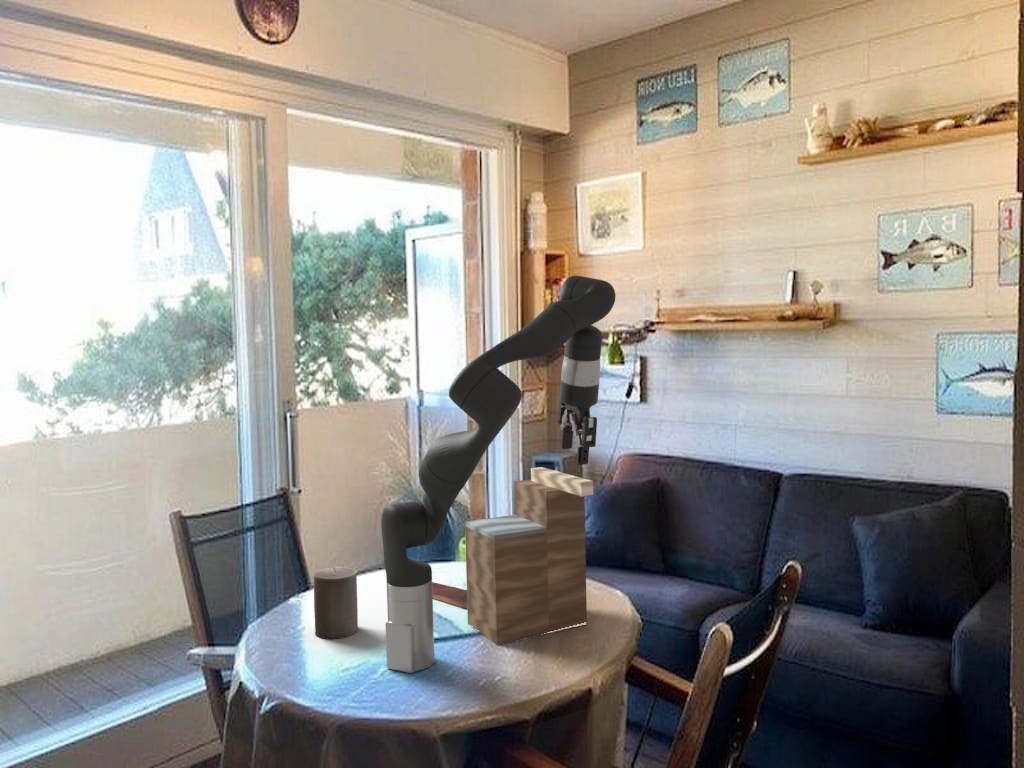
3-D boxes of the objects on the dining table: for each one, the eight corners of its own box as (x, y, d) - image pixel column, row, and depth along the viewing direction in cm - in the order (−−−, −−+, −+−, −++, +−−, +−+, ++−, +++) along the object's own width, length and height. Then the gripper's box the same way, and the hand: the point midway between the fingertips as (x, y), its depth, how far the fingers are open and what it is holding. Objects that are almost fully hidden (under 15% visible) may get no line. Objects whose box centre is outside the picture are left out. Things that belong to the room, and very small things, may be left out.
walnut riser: (586, 625, 185) (584, 486, 183) (496, 645, 174) (493, 498, 172) (553, 606, 198) (550, 476, 196) (467, 623, 187) (464, 487, 185)
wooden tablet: (403, 586, 214) (432, 573, 221) (404, 594, 214) (433, 581, 221) (472, 609, 195) (501, 594, 202) (473, 617, 195) (502, 602, 202)
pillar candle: (315, 641, 179) (313, 574, 178) (314, 626, 188) (312, 562, 187) (360, 636, 181) (358, 571, 181) (356, 621, 191) (355, 559, 190)
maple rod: (593, 494, 173) (593, 481, 173) (581, 496, 172) (581, 482, 172) (542, 479, 193) (541, 467, 192) (531, 480, 191) (530, 468, 191)
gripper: (612, 389, 153) (605, 468, 158) (584, 368, 166) (577, 442, 171) (576, 390, 151) (569, 471, 156) (549, 369, 164) (544, 444, 169)
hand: (573, 455), depth 163 cm, fingers open, 8 cm apart
